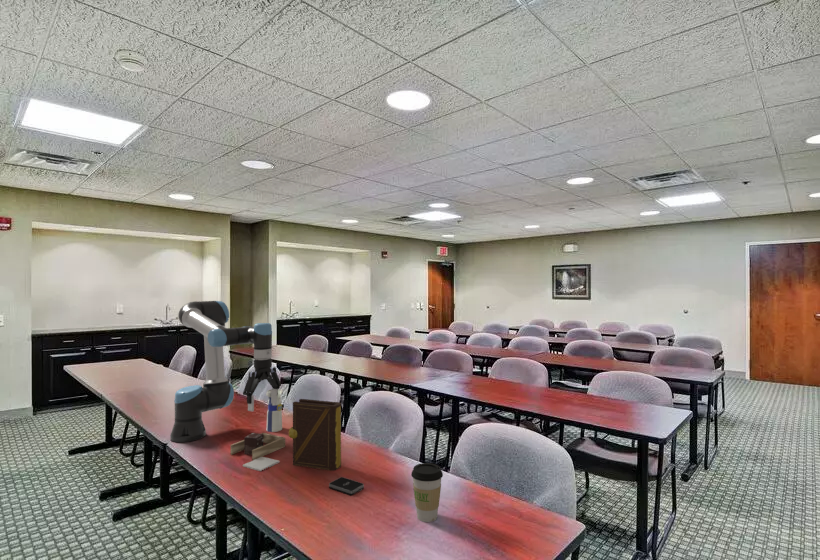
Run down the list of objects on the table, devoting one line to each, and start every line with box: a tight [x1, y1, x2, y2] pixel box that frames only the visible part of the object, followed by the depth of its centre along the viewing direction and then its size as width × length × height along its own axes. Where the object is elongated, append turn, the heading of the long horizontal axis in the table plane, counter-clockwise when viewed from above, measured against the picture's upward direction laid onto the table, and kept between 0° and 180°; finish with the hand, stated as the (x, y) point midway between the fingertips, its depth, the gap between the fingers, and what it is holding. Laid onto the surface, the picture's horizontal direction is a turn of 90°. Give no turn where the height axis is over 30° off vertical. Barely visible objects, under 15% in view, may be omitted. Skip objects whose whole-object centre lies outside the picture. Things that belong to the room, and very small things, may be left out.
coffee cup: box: [411, 462, 444, 523], centre depth 139 cm, size 10×10×15 cm
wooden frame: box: [230, 432, 286, 461], centre depth 195 cm, size 14×18×4 cm
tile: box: [242, 456, 281, 472], centre depth 180 cm, size 10×10×1 cm
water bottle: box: [265, 388, 284, 433], centre depth 224 cm, size 8×9×25 cm
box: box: [243, 432, 265, 456], centre depth 193 cm, size 6×6×7 cm
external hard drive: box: [328, 476, 365, 497], centre depth 158 cm, size 7×11×2 cm, turn 56°
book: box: [288, 398, 342, 472], centre depth 180 cm, size 22×8×25 cm, turn 71°
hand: (262, 407), depth 195 cm, fingers open, 13 cm apart
